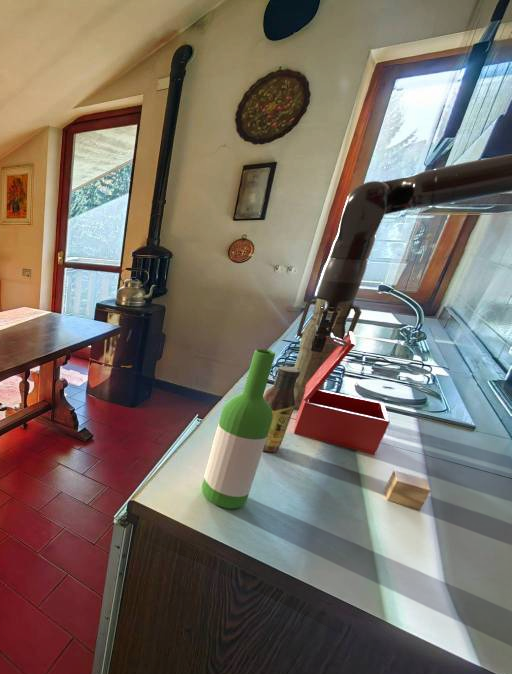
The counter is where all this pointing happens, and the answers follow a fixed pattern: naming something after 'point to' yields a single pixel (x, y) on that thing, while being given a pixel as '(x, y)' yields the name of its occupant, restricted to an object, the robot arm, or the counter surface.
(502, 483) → the counter surface
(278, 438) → the sauce bottle
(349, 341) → the red box lid
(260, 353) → the wine bottle
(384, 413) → the red box
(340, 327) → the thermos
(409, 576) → the counter surface
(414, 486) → the block
